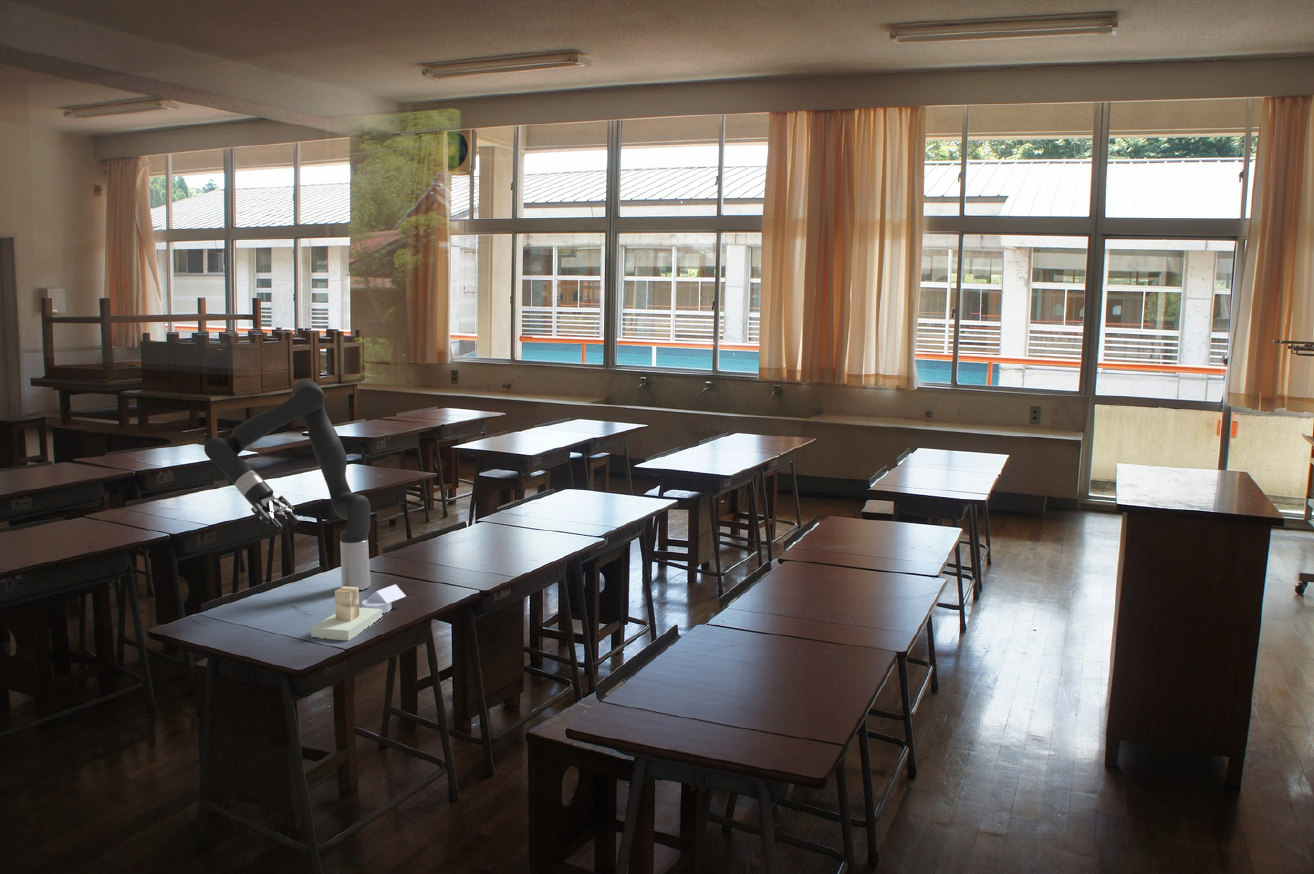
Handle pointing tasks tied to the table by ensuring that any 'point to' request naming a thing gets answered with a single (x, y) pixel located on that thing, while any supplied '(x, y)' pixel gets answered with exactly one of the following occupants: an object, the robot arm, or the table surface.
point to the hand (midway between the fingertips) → (288, 526)
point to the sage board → (346, 625)
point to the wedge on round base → (383, 598)
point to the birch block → (347, 603)
